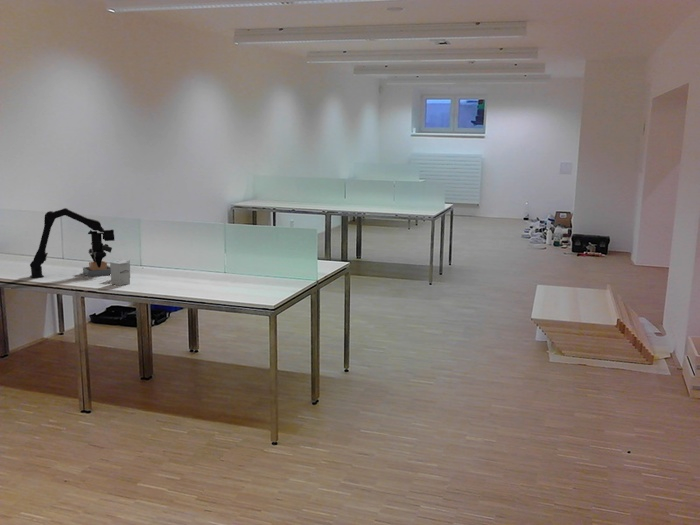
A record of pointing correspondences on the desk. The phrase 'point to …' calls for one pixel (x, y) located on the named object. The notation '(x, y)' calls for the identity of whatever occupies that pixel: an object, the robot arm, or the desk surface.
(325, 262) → the desk surface
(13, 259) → the desk surface
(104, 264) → the small crate
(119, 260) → the light bulb box
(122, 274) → the supplement box
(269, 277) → the desk surface
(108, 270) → the big crate
